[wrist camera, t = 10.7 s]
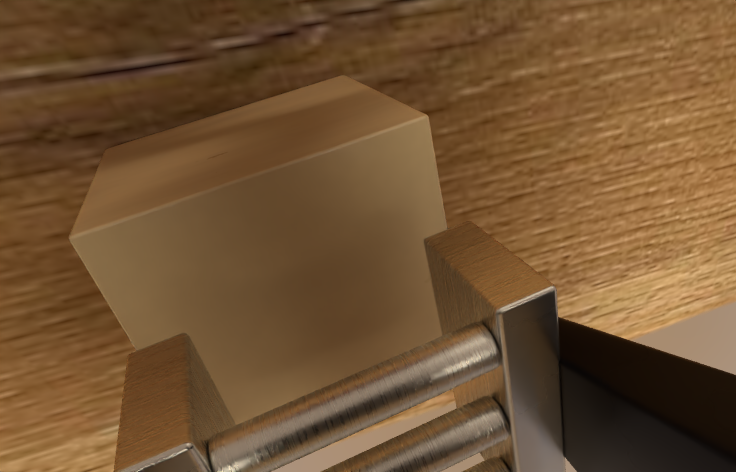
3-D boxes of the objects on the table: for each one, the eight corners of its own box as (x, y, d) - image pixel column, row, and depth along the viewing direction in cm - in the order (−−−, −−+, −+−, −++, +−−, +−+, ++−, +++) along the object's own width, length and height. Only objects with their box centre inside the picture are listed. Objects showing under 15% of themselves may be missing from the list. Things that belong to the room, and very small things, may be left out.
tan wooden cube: (202, 341, 15) (215, 483, 10) (104, 148, 12) (65, 238, 8) (391, 266, 16) (472, 367, 12) (344, 73, 13) (429, 114, 9)
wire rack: (234, 528, 8) (250, 663, 7) (125, 352, 6) (107, 480, 5) (497, 404, 9) (568, 496, 8) (469, 218, 7) (559, 285, 6)
